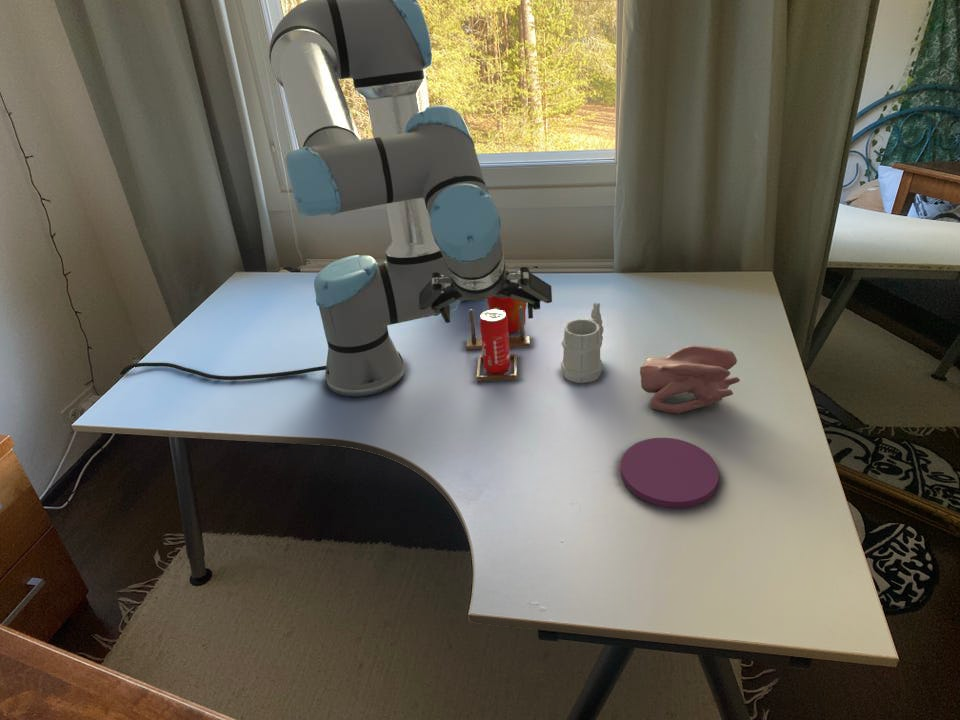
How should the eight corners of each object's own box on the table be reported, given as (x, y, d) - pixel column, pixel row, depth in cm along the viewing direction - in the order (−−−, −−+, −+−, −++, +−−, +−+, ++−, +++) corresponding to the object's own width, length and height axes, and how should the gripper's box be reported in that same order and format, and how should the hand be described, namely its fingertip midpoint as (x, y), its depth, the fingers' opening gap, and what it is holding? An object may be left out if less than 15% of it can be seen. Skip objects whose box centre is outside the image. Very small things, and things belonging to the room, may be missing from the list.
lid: (609, 493, 91) (609, 487, 90) (632, 435, 101) (633, 429, 101) (710, 519, 85) (711, 512, 85) (724, 455, 96) (725, 449, 95)
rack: (531, 379, 118) (529, 340, 113) (462, 382, 119) (458, 343, 114) (529, 339, 130) (528, 302, 126) (467, 342, 131) (463, 306, 127)
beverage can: (502, 379, 118) (498, 324, 112) (479, 373, 121) (473, 318, 114) (515, 365, 122) (512, 311, 116) (492, 360, 124) (488, 306, 118)
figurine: (652, 429, 108) (737, 418, 98) (628, 380, 106) (712, 363, 96) (676, 393, 117) (756, 379, 106) (654, 346, 114) (734, 328, 104)
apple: (507, 344, 129) (504, 292, 123) (480, 331, 135) (476, 281, 128) (536, 328, 134) (534, 278, 127) (509, 316, 139) (506, 267, 133)
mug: (553, 377, 117) (552, 321, 111) (582, 348, 125) (582, 294, 119) (591, 388, 113) (592, 331, 107) (618, 357, 121) (620, 302, 115)
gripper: (382, 297, 82) (414, 338, 103) (573, 286, 80) (566, 331, 101) (383, 244, 84) (413, 295, 105) (570, 232, 82) (563, 286, 102)
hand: (488, 312), depth 103 cm, fingers open, 13 cm apart
